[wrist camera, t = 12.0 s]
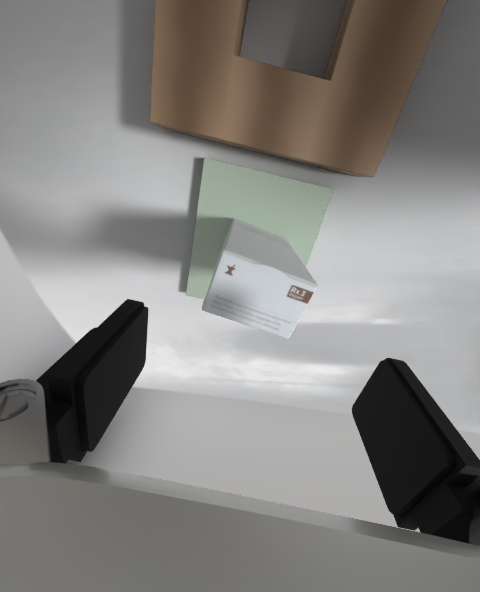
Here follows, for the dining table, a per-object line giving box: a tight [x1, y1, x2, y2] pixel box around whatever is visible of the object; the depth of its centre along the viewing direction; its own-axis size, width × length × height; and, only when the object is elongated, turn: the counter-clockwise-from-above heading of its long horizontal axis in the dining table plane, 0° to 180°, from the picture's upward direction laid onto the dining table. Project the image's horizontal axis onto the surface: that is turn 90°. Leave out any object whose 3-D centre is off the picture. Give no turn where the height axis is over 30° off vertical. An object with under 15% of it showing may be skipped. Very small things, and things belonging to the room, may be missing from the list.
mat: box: [186, 158, 334, 299], centre depth 26 cm, size 12×14×1 cm
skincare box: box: [202, 219, 318, 339], centre depth 20 cm, size 6×4×12 cm
